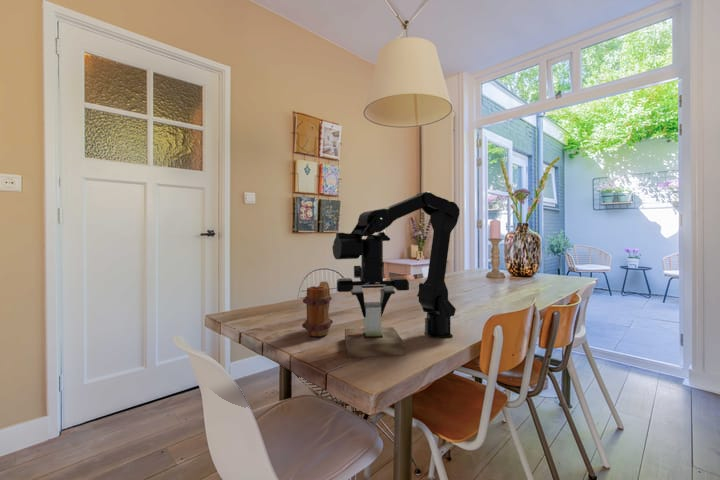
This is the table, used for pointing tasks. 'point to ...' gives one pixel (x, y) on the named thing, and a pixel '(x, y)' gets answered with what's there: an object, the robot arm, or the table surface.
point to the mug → (318, 310)
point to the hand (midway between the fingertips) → (372, 316)
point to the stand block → (373, 343)
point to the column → (372, 319)
